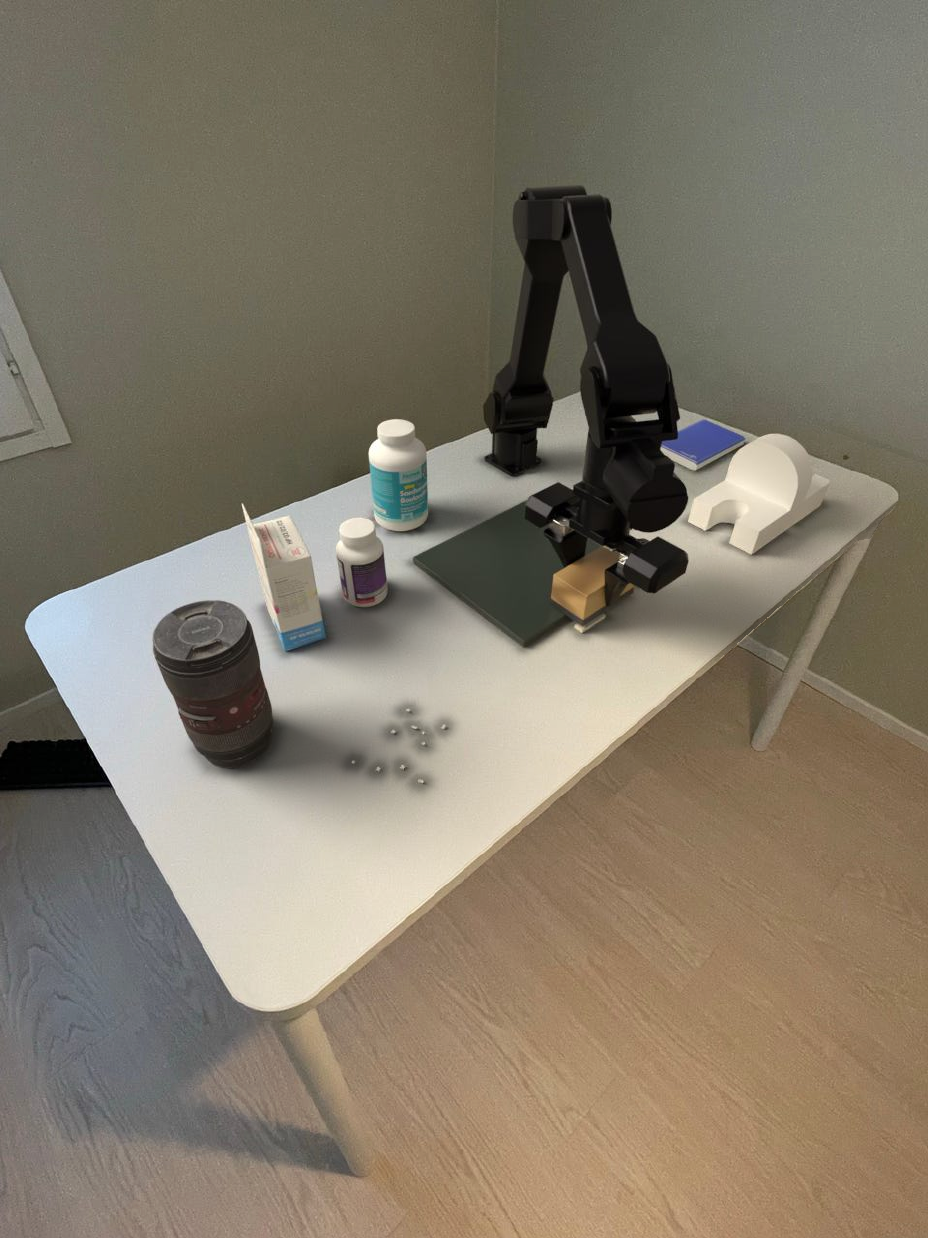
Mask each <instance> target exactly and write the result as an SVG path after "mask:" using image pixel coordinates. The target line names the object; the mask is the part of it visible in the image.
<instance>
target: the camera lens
mask: <svg viewBox="0 0 928 1238" xmlns="http://www.w3.org/2000/svg"><path fill="white" fill-rule="evenodd" d="M152 653H153V656H154V659H155V661H156V663H157V666H158V669H159V672H160V674H161V676H162V679H163V681H164V683H165V685H166V687H167V689H168V691H169V692H170V694H171V695H172V697H173V700H174V703H175V705H176V707H177V710H178V711H177V712H178V715H179V719H180V721H181V722H182V725H183V728H184V730H185V733H186V735H187V737H188V738H189V740H190V741H191V742H192V744H193V746H194V748H195V750H196V751H197V752H198V753H199V754H200V755H202V756H203V757H204V758H205V759H206V760H207V761H208V762H209V763H211V764H212V765H214V766H217V767H219V768H227V769H228V768H229V769H233V768H238V767H243V766H246V765H248V764H250V763H253V762H254V761H256V760H257V759H258V758H260V757H261V756H262V755H263V754H264V753H265V751H267V749H268V747H269V746H270V744H271V742H272V737H273V728H274V717H273V708H272V707H273V706H272V702H271V699H270V695H269V692H268V689H267V688H266V683H265V679H264V676H263V673H262V669H261V659H260V653H259V650H258V646H257V642H256V638H255V633H254V630H253V627H252V624H251V621H250V620H249V619H248V617H247V616H246V613H245V612H244V610H243V609H241V608H240V607H239V606H238V605H235V604H234V603H231V602H229V601H225V600H218V599H216V600H214V599H213V600H211V599H207V600H199V601H194V602H191V603H186V604H184V605H181V606H179V607H177V608H175V609H173V610H172V611H170V612H169V613H167V614H166V615H164V616H163V617H162V618H161V619H160V620H159V621H158V623H157V624H156V626H155V627H154V629H153V632H152Z"/></svg>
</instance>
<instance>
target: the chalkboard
mask: <svg viewBox="0 0 928 1238" xmlns="http://www.w3.org/2000/svg"><path fill="white" fill-rule="evenodd" d="M527 500H528V499H526V500H524V501H522V502H520V503H518V504H516V505H514V506H512V507H510V508H508V509H506V510H504V511H501V512H500V513H498V514H496V515H494V516H492V517H490V518H488V519H486V520H484V521H482V522H480V523H478V524H476V525H474V526H471V527H470V528H468V529H466V530H464V531H462V532H460V533H458V534H456V535H454V536H452V537H450V538H448V539H447V540H444V541H442V542H440V543H438V544H437V545H434V546H432V547H430V548H428V549H427V550H424V551H422V552H420V553H418V554H417V555H415V556H412V564H414V565H415V566H416V567H417V568H418V569H420V570H421V571H423V573H425V574H426V575H428V576H429V577H430V578H431V579H433V580H434V581H436V582H437V583H438V584H440V585H441V586H442V587H444V588H445V589H446V590H447V591H449V592H450V593H451V594H453V595H454V597H457V598H458V599H460V601H462V602H463V603H464V604H465V605H467V606H469V608H471V609H472V610H474V611H475V612H476V613H478V614H479V615H480V616H481V617H483V618H484V619H485V620H487V621H488V622H489V623H491V625H493V626H494V627H496V628H497V629H498V630H499V631H501V632H502V633H504V634H505V635H506V636H508V637H509V638H510V639H511V640H513V641H514V642H515V643H517V644H518V645H519V646H521V647H522V648H526V647H527V646H528V645H530V644H531V643H533V642H534V641H536V640H538V639H539V638H540V637H542V636H543V635H546V634H547V633H548V632H550V631H552V630H553V629H554V628H556V627H558V626H559V625H561V624H563V623H564V622H565V621H567V620H569V619H570V618H569V617H568V616H566V615H565V614H563V613H562V612H561V611H559V610H558V609H556V608H555V607H553V606H552V605H551V593H552V584H553V575H554V574H555V573H557V572H559V571H560V570H562V569H564V567H563V564H562V562H561V560H560V558H559V557H558V555H557V553H556V551H555V550H554V548H553V546H552V544H551V542H550V541H549V539H548V538H547V537H545V536H544V530H545V529H547V528H549V524H548V525H546V526H544V527H542V528H539V527H537V526H536V525H534V524H532V523H531V522H529V521H527V520H526V519H524V516H525V503H526V501H527ZM599 547H601V545H599V544H597V543H596V542H594V541H592V540H591V539H589V538H588V539H587V544H586V551H585V556H586V555H587V554H589V553H591V552H593V551H594V550H596V549H598V548H599Z"/></svg>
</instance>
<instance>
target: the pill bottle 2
mask: <svg viewBox="0 0 928 1238" xmlns="http://www.w3.org/2000/svg"><path fill="white" fill-rule="evenodd" d="M376 430H377V431H376V432H377V439H375V440H374V441H373V442H372V443H371V445H370V446H369V449H368V462H369V463H368V464H369V474H370V484H371V485H370V486H371V495H372V497H371V498H372V507H373V517H374V519H375V521H376V523H377V524H378V526H379V525H380V527H382V528H383V529H386V530H390V531H394V532H405V531H412V530H415V529H418V528H419V527H420V526H422V525H424V523H425V522H426V521H427V519H428V516H429V492H428V491H429V489H428V458H427V455H428V454H427V449H426V446H425V444H424V443H423V442H422V440H420V439H419V438H417V437H416V427H415V425H414V424H413V423H412V422H411V421H410V420H406V419H399V418H395V419H387V420H384V421H382V422H381V423H379V424H378V425H377V428H376Z"/></svg>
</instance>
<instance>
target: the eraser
mask: <svg viewBox="0 0 928 1238" xmlns="http://www.w3.org/2000/svg"><path fill="white" fill-rule="evenodd" d="M619 554H620V553H619V552H617V551H614V552H611V551H609V550H608V549H606V548H604V547H602V546H601V547H599V548H598V549H596V550H594V551H593V552H591V553H589V554H587V555H586V556H584V557H582V558H581V559H579V560H577V561H576V562H574V563H572V564H571V565H569V566H567V567H566V568H564V569H562V570H560V571H559V572H557V573H555V574H554V575H553V584H552V593H551V605H552V606H553V607H555V608H556V609H558V610H559V611H561V612H562V613H563V614H565V615H566V616H568V617H569V619H571V620H572V621H574V622H575V623H576V624H577V623H578V624H579V625H581V626H584V625H585V624H587V623H588V622H590V621H591V620H593V619H594V618H596V617H597V616H599V615H600V614H602V613H605V612H606V611H608V610H610V609H611V608H612V607H614V606H615V605H617V604H618V603H620V602H622V601H623V600H625V599H626V598H628V597H629V596H631V595H633V594H634V591H635V587H636V586H635V585H633V584H631V583H630V584H628V585H627V586H626V588H625V589H624V590H623V592H622V593H621V595H620V596H619V598H618V599H617V600H616V602H615V603H614V604H613V605H611V606H610V607H608V606H606V602H605V580H604V571H605V569H607V568H608V567H610V566H612V565H613V564H615V563H616V562H618V560H619Z"/></svg>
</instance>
